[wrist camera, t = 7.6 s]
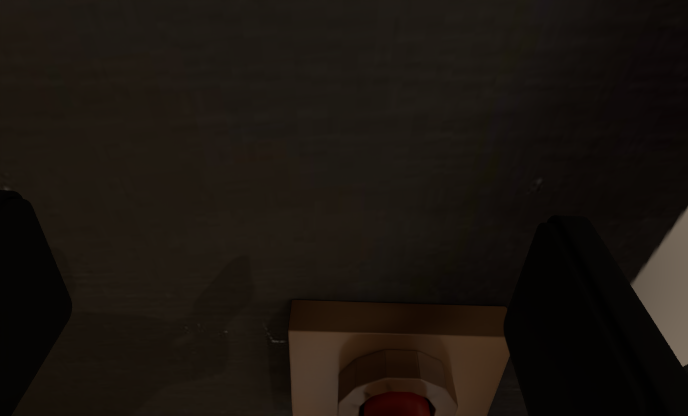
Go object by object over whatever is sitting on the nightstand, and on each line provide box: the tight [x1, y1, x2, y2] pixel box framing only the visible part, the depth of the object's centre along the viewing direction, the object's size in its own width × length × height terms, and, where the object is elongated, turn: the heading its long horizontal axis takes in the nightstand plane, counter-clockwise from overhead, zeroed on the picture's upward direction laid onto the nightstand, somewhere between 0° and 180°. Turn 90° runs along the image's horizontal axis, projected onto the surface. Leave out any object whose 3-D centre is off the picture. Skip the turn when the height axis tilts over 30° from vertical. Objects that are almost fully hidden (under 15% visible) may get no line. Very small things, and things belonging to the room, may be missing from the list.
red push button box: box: [288, 300, 510, 416], centre depth 28 cm, size 12×9×4 cm
